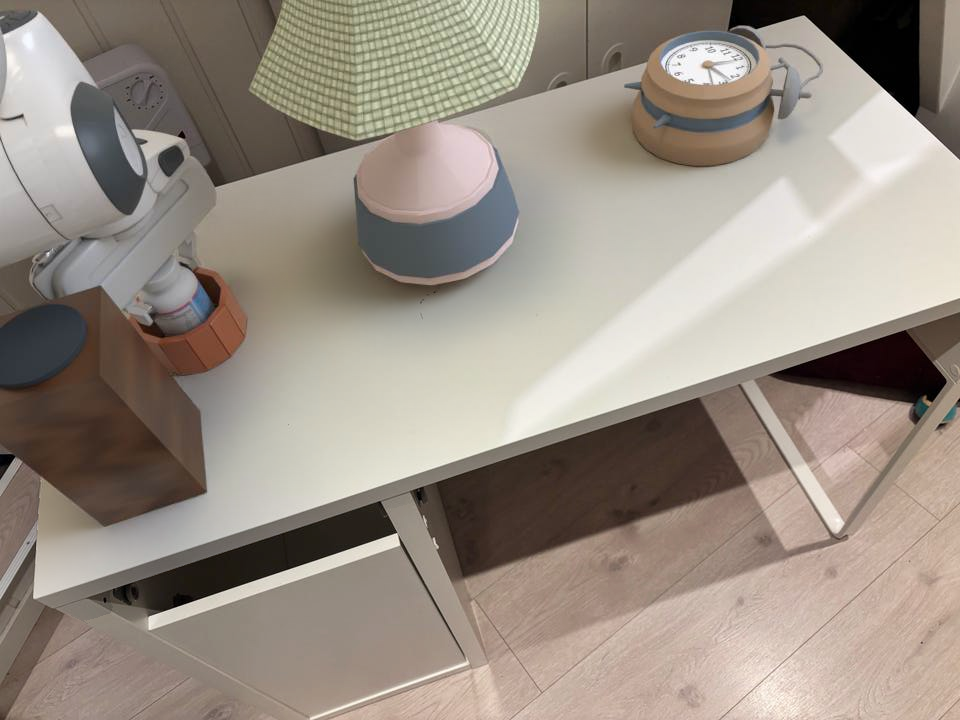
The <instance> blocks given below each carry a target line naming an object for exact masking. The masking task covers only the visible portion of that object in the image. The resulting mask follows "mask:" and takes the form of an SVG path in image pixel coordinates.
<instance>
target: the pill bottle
mask: <svg viewBox="0 0 960 720" xmlns="http://www.w3.org/2000/svg"><path fill="white" fill-rule="evenodd" d="M176 258H177V257H176V256H175V255H174V254H172V255H171V256H170V257H169V258H168V259H167V261H166V262H165V263H164V264H163V265H162V266H161V267H160V268H159V270H158V271H157V272H156V273H155V274H154V275H153V276H152V278H151V279H150V280H149V281H148V282H147V283H146V284H145V285H144V287H143V288H142V289H141V290H140V291H139V292H138V296H139V299H140V302H143V303H145V304H150V305H153V307H154V308H155V312H158V314H159V316H158V317H157V318H156V319H155V322H156V324H157V325H158V326H159V328H160V329H161V330H162V332H163V333H164V334H163V335H164V337H165V338H166V337H172V336H178V335H183V334H186V333H188V332H189V331H191V330H193V329H194V328H196V327H198V326H200V325H201V324H203V323H205V322H206V321H207V319H208V318H209V317H210V316H211V314H212V313H213V312H214V311H215V309H216V308H217V306H215V304H213V303H212V301H211V300H210V298H209V296H208V295H207V293H206V292H205V290H204V289H203V287H202V286H201V284H200V283H199V281H198V279H197V278H196V276H195V275H194V274H193V272H192V271H191V270H189V269H188V268H186V267H184V266H180V264H179V262H178V261H177V260H176Z"/></svg>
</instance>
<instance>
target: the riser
mask: <svg viewBox="0 0 960 720" xmlns="http://www.w3.org/2000/svg"><path fill="white" fill-rule="evenodd" d="M48 304H62V305H67V306H70V307H72V308H74V309H75V310H77V311H78V312H79V313H80V314H81V316H82V317H83V318H84V320H85V322H86V325H87V337H86V340H85V343H84V345H83V347H82V349H81V351H80V352H79V354H78V355H77V356H76V358H75V359H74V360H73V361H72V362H71V363H70V364H69V365H68V366H67V367H66V368H65V369H63V370H62V371H61V372H59V373H58V374H56V375H55V376H53V377H51V378H50V379H48V380H46V381H44V382H42V383H39V384H36V385H34V386H30V387H26V388H18V389H10V388H4V387H0V446H1V447H3V448H4V449H6V450H7V451H8V452H9V453H11V454H12V455H13V456H14V457H15V458H17V459H18V460H19V461H21V462H22V463H23V464H24V465H26V466H27V467H28V468H29V469H31V471H33V472H35V473H36V474H37V475H38V476H40V477H41V478H42V479H44V481H46V482H47V483H49V484H50V485H51V486H52V487H54V488H55V489H56V490H57V491H59V492H60V493H61V494H62V495H63V496H65V497H66V498H68V499H69V500H70V501H71V502H72V503H74V504H75V505H76V506H78V507H79V508H80V509H82V510H83V511H84V512H85V513H86V514H88V515H89V516H90V517H91V518H93V519H94V520H95V521H96V522H98V523H99V524H100V525H101V526H102V527H107V526H110V525H114V524H116V523H119V522H122V521H125V520H128V519H131V518H135V517H137V516H140V515H143V514H147V513H149V512H153V511H155V510H159V509H161V508H165V507H166V506H167V507H168V506H171V505H173V504H176V503H179V502H182V501H185V500H189V499H192V498H194V497H197V496H200V495H202V494H206V493H208V486H207V477H206V476H207V475H206V464H205V451H204V441H203V429H202V419H201V418H202V417H201V411H200V409H199V408H198V406H196V404H195V403H194V401H193V400H192V399H191V398H190V396H189V395H188V394H187V393H186V391H185V390H184V388H182V386H181V385H180V384H179V383H178V382H177V380H176V379H175V378H174V376H173V375H172V374H171V371H168V370H167V369H166V367H165V366H164V365H163V364H162V362H161V361H160V360H159V358H158V357H157V356H156V355H155V353H154V352H153V351H152V350H151V348H150V347H149V346H148V344H147V343H146V342H145V341H144V339H143V338H142V337H141V336H140V334H139V333H138V332H137V330H136V329H135V328H134V327H133V325H132V324H131V323H130V322H129V319H128V318H127V317H126V315H125V314H124V313H123V311H121V310H120V309H119V308H118V306H117V305H116V304H115V303H114V301H113V300H112V299H111V297H110V296H109V295H108V294H107V292H106V291H105V290H104V289H103V287H102V286H101V285H99V286H96V287H93V288H90V289H86V290H83V291H80V292H77V293H73V294H70V295H67V296H64V297H60V298H57V299H54V300H51V301H47V300H46V301H44V302H42V303H38V304H35V305H31V306H28V307H25V308H22V309H19V310H16V311H11V312H8V313H5V314H2V315H0V328H1V327H2V326H3V325H4V324H5V323H7V322H8V321H9V320H11V319H12V318H14V317H15V316H17V315H19V314H21V313H23V312H25V311H27V310H29V309H32V308H35V307H38V306H42V305H48Z"/></svg>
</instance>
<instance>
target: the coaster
mask: <svg viewBox="0 0 960 720" xmlns="http://www.w3.org/2000/svg"><path fill="white" fill-rule="evenodd" d="M86 337H87V325H86V322H85V320H84V318H83V317H82V316H81V314H80V313H79V312H78V311H77V310H75V309H74V308H72V307H70V306H67V305H62V304H48V305H42V306H38V307H35V308H32V309H29V310H27V311H25V312H23V313H21V314H19V315H17V316H15V317H14V318H12V319H11V320H9V321H8V322H7V323H5V324H4V325H3V326H2V327H1V328H0V387H4V388H10V389H18V388H26V387H30V386H34V385H36V384H39V383H42V382H44V381H46V380H48V379H50V378H51V377H53V376H55V375H56V374H58V373H59V372H61V371H62V370H63V369H65V368H66V367H67V366H68V365H69V364H70V363H71V362H72V361H73V360H74V359H75V358H76V356H77V355H78V354H79V352H80V351H81V349H82V347H83V345H84V343H85V340H86Z"/></svg>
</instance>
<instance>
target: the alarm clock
mask: <svg viewBox="0 0 960 720" xmlns="http://www.w3.org/2000/svg"><path fill="white" fill-rule="evenodd" d="M780 48H792V49H793V48H794V49H797V50H800V51H802V52H803V53H805V54H807V56H809V57H810V58H812V59H813V61H814V62H815V63H816V64H817V66H818V67H819V71H818V72H817V73H816V74H814V75H812V76H810V77H808V78H807V79H805V80H804V81H803V82H802V83H801V76H800V73H799V71H798V69H797V68H796V67H793V66H792V65H791V64H790V63H789V62H788V61H787V60H786V59H785V58H783V57H779V58H778V64H774V65H772V64H771V58H770V55H769V54H768V53H767V51H766V49H780ZM646 63H647V65H646V67H645V69H644V72H643V74H642V76H641V81H635V82H630V83H624V84H623V88H626V89H630V90H636V91H638V92H637V95H636V96H635V99H634V102H633V104H632V105H633V106H632V131H633V133H634V136H635V138H636V140H637V141H638V143H639V144H640V145H641V146H642V147H643V148H644V149H645V150H646V151H648V152H649V153H651V154H653V155H655V156H656V157H657V158H660V159H662V160H665V161H667V162H671V163H674V164H679V165H685V166H692V167H702V166H703V167H707V166H708V167H709V166H717V165H723V164H729V163H732V162H735V161H738V160H740V159H743V158H745V157H748V156H749V155H750V154H752V153H754V152H755V151H757V150H758V149H759V148H760V147H761V146H762V145H763V144H764V142H766V140H767V139H768V137H769V134H770V131H771V128H772V123H773V119H774V114H775V103H774V99H773V98H774V97H781V98H780V103H779V109H778V114H777V119H778V120H785V119H787V118H788V117H790V115H792V113H793V112H794V110H795V108H796V106H797V103H798V101H800V100H801V99H810V98H812V97H813V93H812V92H811V91H802V90H803V88H804V87H805V86H806V85H808V83H810V82H811V81H813V80H817V79H818V78H819V77H820V76H821V75H822V74H823V72H824V64H823V63H822V61H821V60H820V59H819V57H818V56H817V55H816V54H815V53H813V52H812V51H811V50H810V49H808V48H806V47H805V46H803V45H801V44H797V43H787V42H785V43H778V44H766V41H765V39H764V37H763V35H762V34H761V33H760V32H759V31H758V30H757V29H755V28H754V27H752V26H750V25H737V26H735V27H732V28H730V29H729V30H728V31H723V30H722V31H721V30H699V31H694V32H693V31H692V32H689V33H684V34H680V35H679V36H675V37H673V38H670V39H668V40H666V41H665V42H663V43H662V44H660V45H658V46H657V47H656V48H655V49H654V50H653V51H652V52H651V53H650V56H649V57H648V60H647V62H646ZM783 68H784V69H785V70H786V75H785V79H784V84H783V87H782V89H776V88H775V89H774V88H773V84H774V79H773V74H772V71H774V70H778V69H783Z"/></svg>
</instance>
